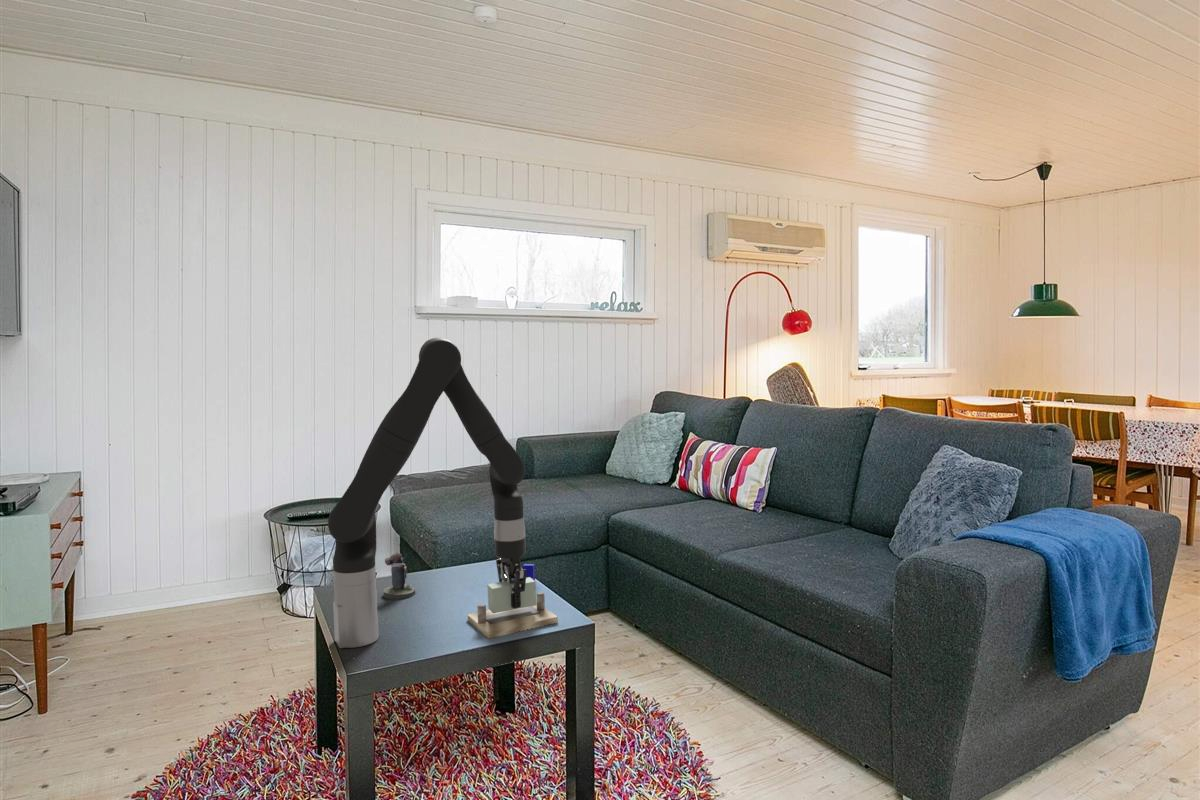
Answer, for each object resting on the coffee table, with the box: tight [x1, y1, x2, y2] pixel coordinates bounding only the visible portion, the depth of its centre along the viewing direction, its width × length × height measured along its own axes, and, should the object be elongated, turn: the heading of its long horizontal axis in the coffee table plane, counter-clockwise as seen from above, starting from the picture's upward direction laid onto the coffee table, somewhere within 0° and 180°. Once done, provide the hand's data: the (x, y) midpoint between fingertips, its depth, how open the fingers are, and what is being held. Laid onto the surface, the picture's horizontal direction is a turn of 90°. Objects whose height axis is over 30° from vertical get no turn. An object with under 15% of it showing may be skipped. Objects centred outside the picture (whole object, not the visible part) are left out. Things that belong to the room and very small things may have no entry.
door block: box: [487, 577, 537, 613], centre depth 177 cm, size 11×4×6 cm, turn 116°
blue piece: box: [513, 563, 536, 582], centre depth 201 cm, size 12×4×6 cm, turn 170°
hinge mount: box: [467, 592, 559, 639], centre depth 177 cm, size 18×14×6 cm
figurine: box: [383, 552, 416, 600], centre depth 200 cm, size 8×8×12 cm
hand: (512, 604), depth 177 cm, fingers closed on door block, 4 cm apart
